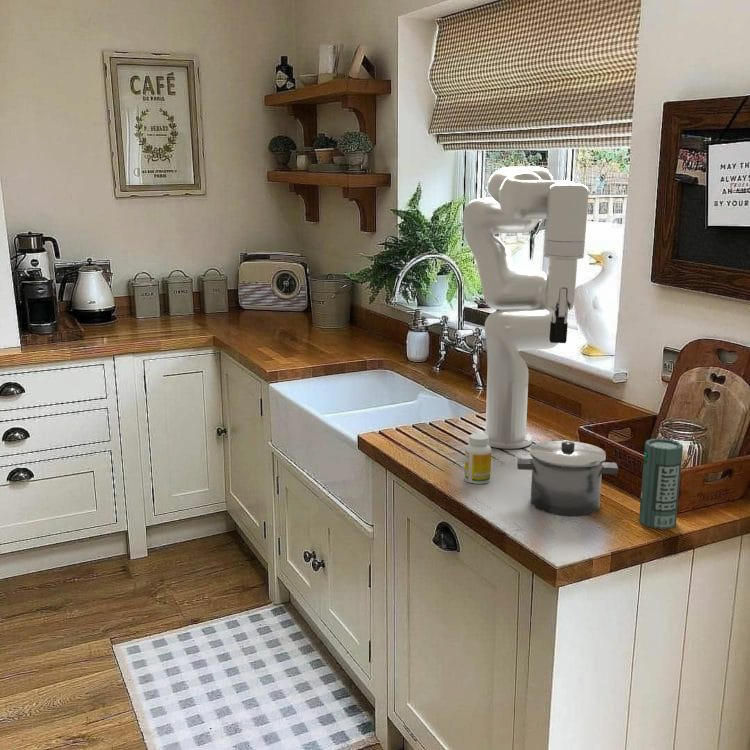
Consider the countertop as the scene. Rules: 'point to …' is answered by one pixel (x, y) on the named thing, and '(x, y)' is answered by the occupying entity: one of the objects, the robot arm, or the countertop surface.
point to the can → (660, 483)
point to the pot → (566, 487)
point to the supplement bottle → (478, 459)
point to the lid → (567, 453)
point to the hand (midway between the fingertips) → (557, 341)
